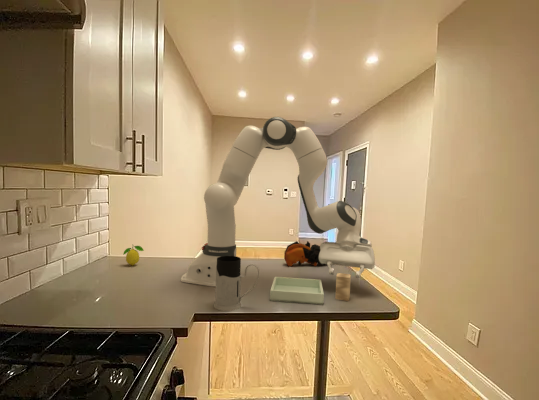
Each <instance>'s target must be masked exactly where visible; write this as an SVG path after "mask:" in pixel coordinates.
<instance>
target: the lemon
mask: <svg viewBox="0 0 539 400" xmlns="http://www.w3.org/2000/svg"><path fill="white" fill-rule="evenodd" d="M139 251H140V252H143V251H145V250H144V248H143V247H142V246H140V245H133V246H132V247H128V248H125V249H124V251H123V255H125V261H126V263H127V264H128V265H130V266H132V267H133V266H134V265H136V264H138V263H139V260H140V254H139Z"/></svg>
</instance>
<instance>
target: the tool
mask: <svg viewBox="0 0 539 400" xmlns="http://www.w3.org/2000/svg"><path fill="white" fill-rule="evenodd" d="M319 253H320V245H318V244H316V243H314V244H312V245H311V243H310V242H309V241H308V240H307V241H306V243H305V244H304V243H301V242H300V243H299V241H298V240H297V241H294V242H292V243H290V244H288V245H287V246H286V248H285V250H284V253H283V254H284V261H285V263H286V265H287V266H288V267H293V265H294V264H298V265H299V266H301V265H302V264H304V263H307V264H310V265H312V266H315V267H317V265H324V266H325V265H326V264H322V263H320V261H319Z"/></svg>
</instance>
